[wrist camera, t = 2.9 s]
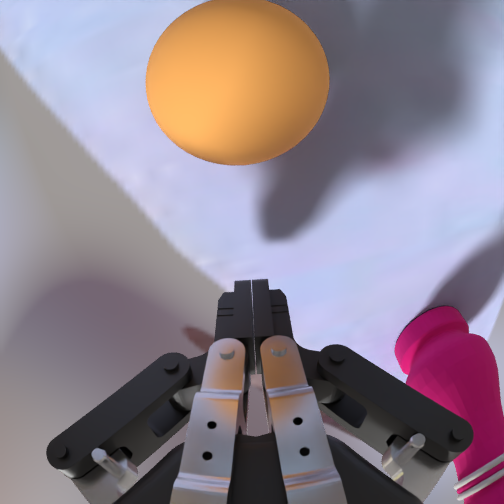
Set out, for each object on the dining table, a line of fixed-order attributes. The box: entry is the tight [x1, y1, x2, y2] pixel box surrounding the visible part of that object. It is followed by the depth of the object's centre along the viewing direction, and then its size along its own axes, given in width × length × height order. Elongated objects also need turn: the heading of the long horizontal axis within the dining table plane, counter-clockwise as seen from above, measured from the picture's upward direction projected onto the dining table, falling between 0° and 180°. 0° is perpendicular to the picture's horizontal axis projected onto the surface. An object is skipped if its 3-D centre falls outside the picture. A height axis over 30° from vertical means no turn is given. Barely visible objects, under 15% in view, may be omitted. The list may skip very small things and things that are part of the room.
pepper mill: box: [395, 306, 504, 504], centre depth 11 cm, size 7×7×20 cm
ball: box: [146, 0, 330, 165], centre depth 9 cm, size 6×6×6 cm
